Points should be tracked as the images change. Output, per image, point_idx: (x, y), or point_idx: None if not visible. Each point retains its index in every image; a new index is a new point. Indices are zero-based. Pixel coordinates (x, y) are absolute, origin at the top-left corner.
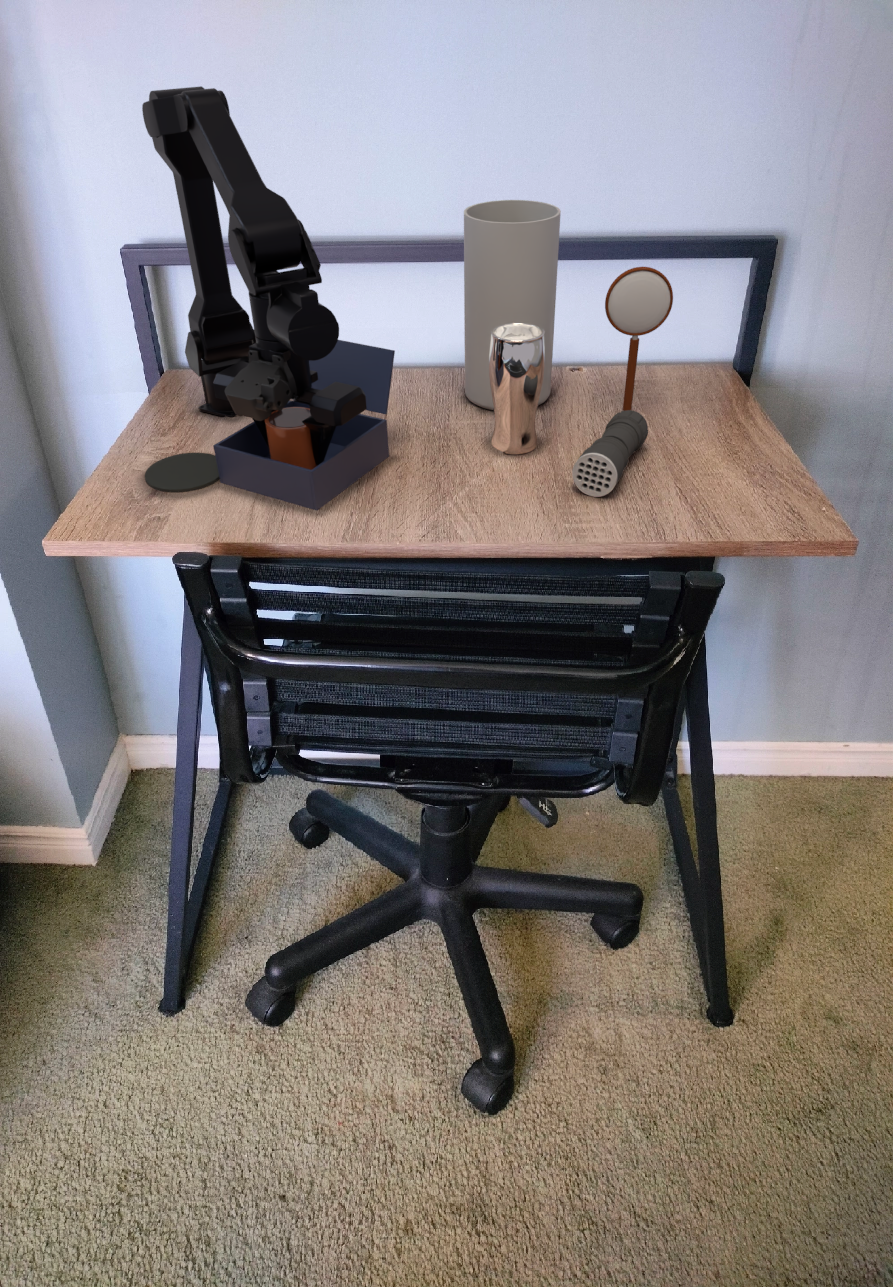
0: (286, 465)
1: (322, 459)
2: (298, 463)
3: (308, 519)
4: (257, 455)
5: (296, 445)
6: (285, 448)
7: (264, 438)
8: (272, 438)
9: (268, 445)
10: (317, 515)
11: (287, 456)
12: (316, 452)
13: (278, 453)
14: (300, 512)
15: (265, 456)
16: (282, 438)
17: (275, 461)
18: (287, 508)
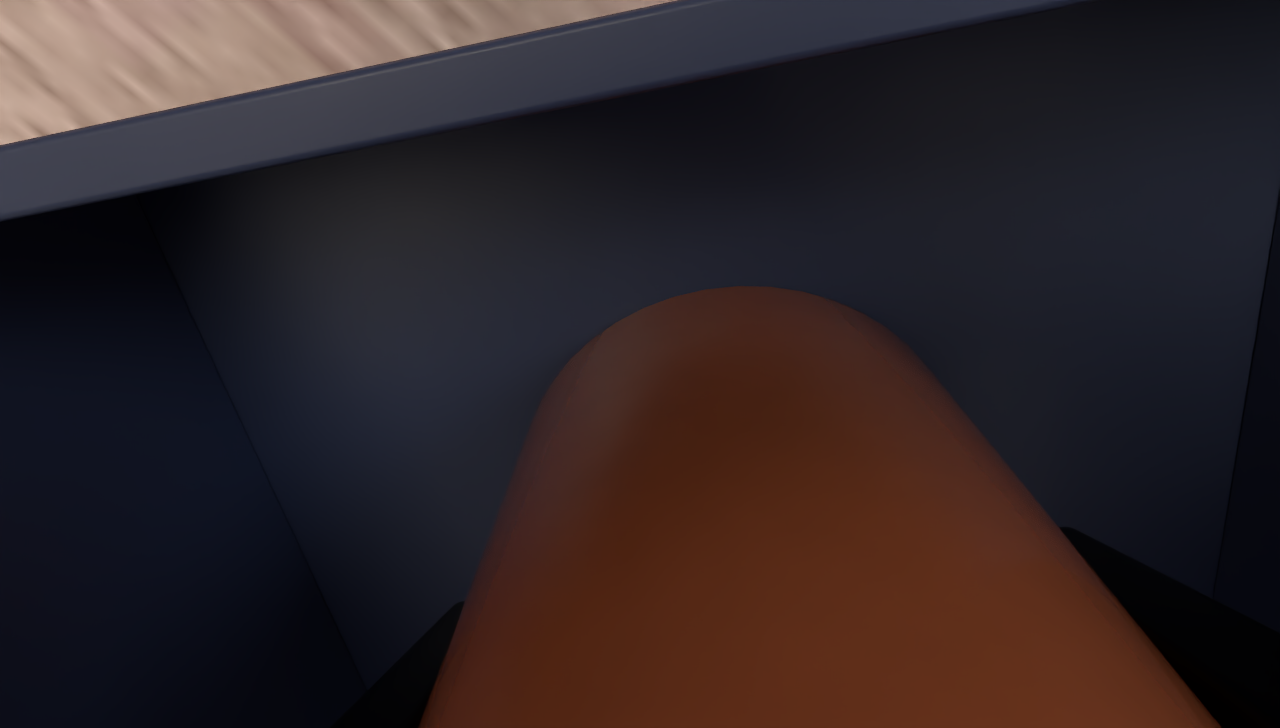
0: (26, 145)
1: None
2: (516, 492)
3: (58, 11)
4: (1273, 483)
5: (453, 687)
6: (597, 556)
7: (1252, 630)
8: (893, 619)
9: (1141, 574)
10: (79, 122)
11: (595, 479)
12: (368, 718)
13: (734, 452)
14: (223, 57)
15: (1214, 532)
16: (615, 701)
17: (300, 109)
18: (372, 28)
